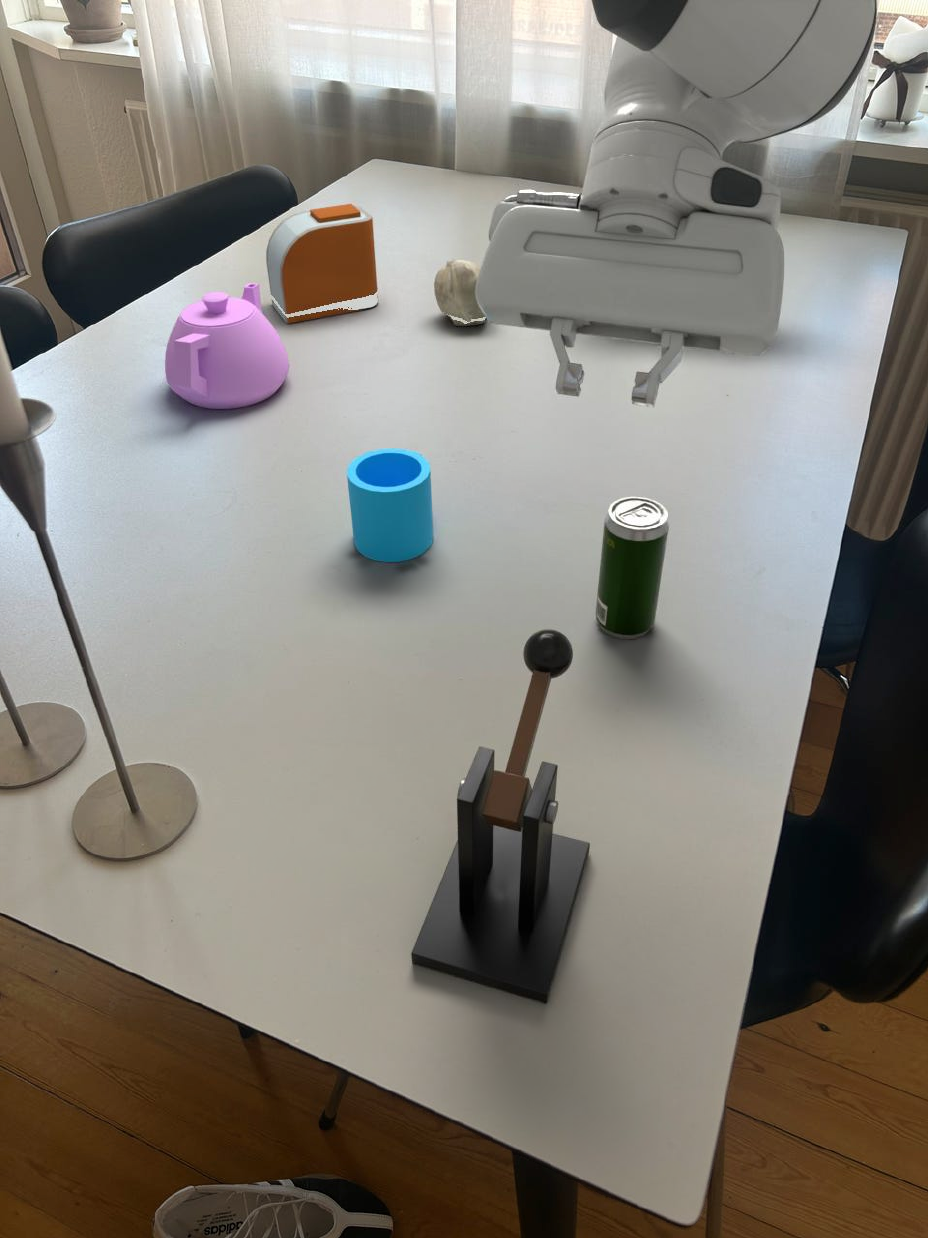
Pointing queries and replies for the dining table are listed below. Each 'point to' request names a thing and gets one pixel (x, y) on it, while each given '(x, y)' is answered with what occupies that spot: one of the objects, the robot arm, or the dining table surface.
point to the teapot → (225, 352)
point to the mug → (391, 504)
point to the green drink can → (631, 566)
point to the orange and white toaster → (321, 260)
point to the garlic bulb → (458, 291)
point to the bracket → (504, 892)
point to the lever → (526, 730)
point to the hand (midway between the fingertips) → (604, 398)
